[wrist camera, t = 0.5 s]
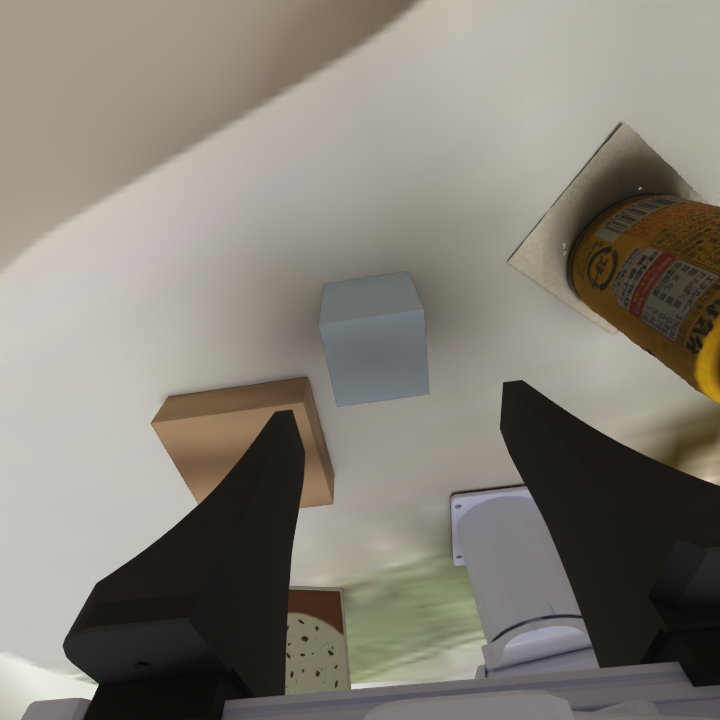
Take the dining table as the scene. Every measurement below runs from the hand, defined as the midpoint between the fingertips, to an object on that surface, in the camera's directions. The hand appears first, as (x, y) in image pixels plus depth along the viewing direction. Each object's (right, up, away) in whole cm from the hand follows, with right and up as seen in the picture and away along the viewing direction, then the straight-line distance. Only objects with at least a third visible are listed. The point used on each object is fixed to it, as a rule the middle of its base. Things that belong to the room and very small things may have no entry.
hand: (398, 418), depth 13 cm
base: (-8, -3, +13) cm, 16 cm away
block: (-1, +5, +8) cm, 10 cm away
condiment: (+12, +8, +7) cm, 16 cm away
